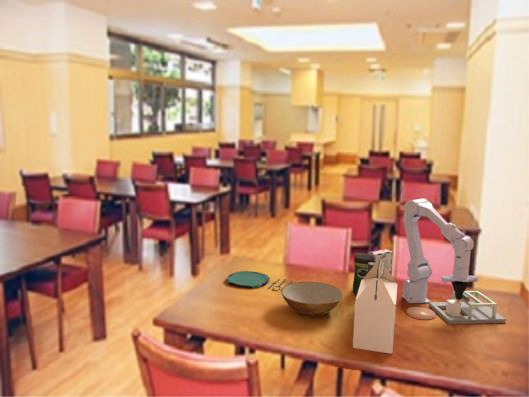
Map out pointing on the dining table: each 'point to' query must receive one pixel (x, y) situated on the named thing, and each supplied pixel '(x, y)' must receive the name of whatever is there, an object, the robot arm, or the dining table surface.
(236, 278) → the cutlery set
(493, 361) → the dining table surface
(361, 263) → the coffee jar
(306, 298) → the bowl
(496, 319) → the puzzle board
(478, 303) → the cream slatted rack
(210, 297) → the dining table surface
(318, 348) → the dining table surface
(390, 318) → the gable box
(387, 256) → the candy bar box
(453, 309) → the cream block
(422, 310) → the terracotta dish
